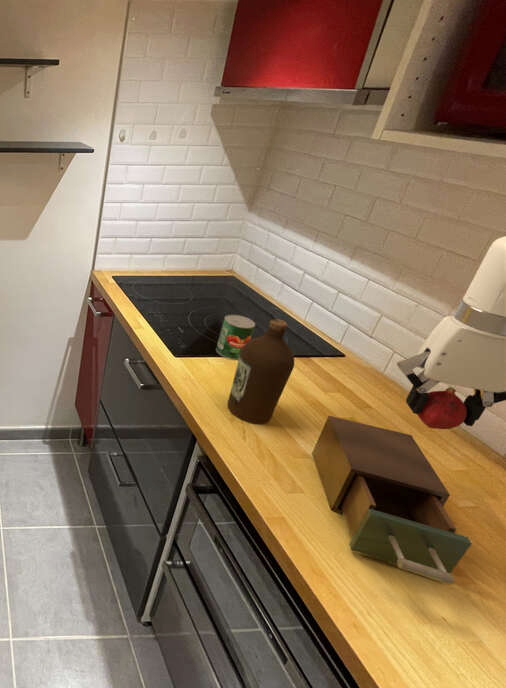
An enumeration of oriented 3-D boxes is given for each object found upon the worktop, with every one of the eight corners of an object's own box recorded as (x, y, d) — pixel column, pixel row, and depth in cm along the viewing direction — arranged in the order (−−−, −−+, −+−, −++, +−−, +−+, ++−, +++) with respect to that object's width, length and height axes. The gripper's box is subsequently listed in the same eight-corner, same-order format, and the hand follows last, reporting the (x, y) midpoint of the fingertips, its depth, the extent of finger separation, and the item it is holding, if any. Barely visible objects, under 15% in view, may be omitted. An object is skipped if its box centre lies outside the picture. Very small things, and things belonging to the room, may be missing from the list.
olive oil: (265, 401, 113) (297, 314, 103) (280, 430, 103) (316, 337, 93) (220, 394, 115) (246, 308, 105) (229, 421, 106) (259, 329, 96)
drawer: (464, 616, 66) (493, 578, 63) (362, 581, 71) (384, 544, 67) (408, 509, 83) (429, 474, 80) (328, 486, 88) (344, 452, 84)
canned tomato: (229, 344, 138) (238, 312, 134) (251, 357, 132) (262, 325, 127) (209, 348, 136) (218, 316, 131) (231, 362, 129) (241, 329, 124)
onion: (459, 445, 71) (483, 405, 68) (411, 431, 74) (432, 392, 71) (448, 424, 76) (471, 385, 73) (404, 411, 79) (424, 374, 75)
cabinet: (422, 537, 79) (450, 495, 75) (330, 510, 84) (351, 468, 80) (389, 474, 92) (411, 435, 88) (311, 453, 97) (328, 415, 93)
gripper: (555, 320, 66) (495, 416, 74) (408, 298, 73) (366, 388, 80) (593, 344, 60) (522, 446, 68) (428, 317, 67) (380, 413, 74)
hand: (438, 413), depth 74 cm, fingers closed on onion, 5 cm apart
